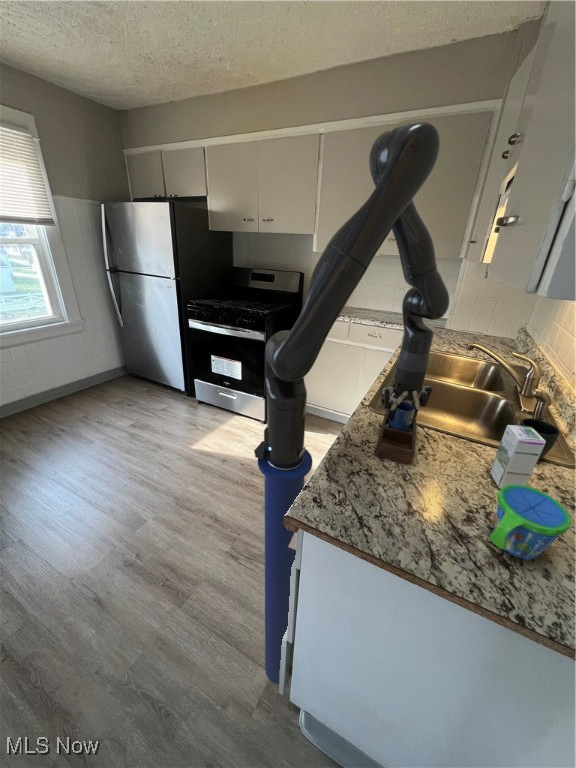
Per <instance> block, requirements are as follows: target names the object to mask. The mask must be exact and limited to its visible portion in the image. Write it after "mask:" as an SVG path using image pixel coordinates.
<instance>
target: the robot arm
mask: <svg viewBox="0 0 576 768" xmlns="http://www.w3.org/2000/svg"><path fill="white" fill-rule="evenodd" d="M440 146H441V139H440V134H439V131H438V129H437V128H436V126H435V125H433V124H432V123H430V122H428V121H427V122H426V121H418V122H417V121H416V122H411V123H407V124H404V125H401V126H396V127H393V128H390V129H387V130H386V131H383V132H382V133H380V134H379V135H378V137H376V139H374V142H373V143H372V146H371V149H370V150H369V151H370V152H369V155H368V157H369V159H368V166H369V172H370V176H371V179H372V181H373V184H374V186H375V188H374V190H373V191H372V193H371V194H370V196H369V197H368V198H367V199H366V201H365V202H364V203H363V205H361V206H360V207H359V209H357V211H356V212H355V213H354V214H352V215H351V216H350V218H348V219H347V220H346V221H345V223H343V224H342V225H341V226H340V227H339V228H338V229H337V231H336V232H335V233H334V234H333V236H332V237H331V238H330V240H329V241H328V242H327V245H326V247H325V248H324V250H323V252H322V254H321V255H320V257H319V259H318V260H317V263H316V264H315V266H314V269H313V270H312V274H311V276H310V281H309V283H308V287H307V292H306V296H305V299H304V303H303V306H302V309H301V311H300V313H299V315H298V317H297V319H296V321H295V323H294V324H293V326H292V327H291V329H290V330H289V329H288V330H286V329H285V330H280V331H277V332H275V333H273V335H272V336H271V337H270V338H269V339H268V341H266V345H265V351H264V375H265V381H264V382H265V388H266V389H265V390H266V400H267V401H266V402H267V403H266V405H267V406H266V407H267V409H266V410H267V411H266V412H267V413H266V414H267V418H266V419H267V420H266V421H267V422H266V427H265V428H264V430H263V440H262V441H261V442H260V443H259V444H258V445H257V447H256V448H255V449H254V451H253V452H254V457H255V458H257V459H258V458H260V459H264V461H265V462H267V463H268V464H269V465H270V466H271V467H272V468H274V469H276V470H280V471H291V470H295V469H297V468H299V467H300V466H301V465H302V463H303V453H304V451H305V449H306V446H305V436H306V435H305V434H306V433H305V432H306V418H307V401H308V400H307V399H308V398H307V397H308V390H307V387H306V382H305V377H306V376H307V375H308V374H309V372H311V370H312V368H313V367H314V365H315V363H316V361H317V358H318V356H319V355H320V353H321V350H322V348H323V346H324V344H325V341H326V340H327V338H328V336H329V333H330V331H331V330H332V328H333V326H334V324H335V323H336V322H337V320H338V318H339V316H340V315H341V313H342V312H343V310H344V308H345V306H346V304H347V303H348V301H349V300H350V298H351V297H352V295H353V293H354V292H355V290H356V289H357V288H358V286H359V284H360V283H361V280H363V278H364V276H365V275H366V273H367V271H368V269H369V267H370V266H371V263H372V262H373V259H374V258H375V256H376V255H377V253H378V251H379V250H380V248H381V247H382V245H383V244H384V243H385V240H386V239H387V237H388V236H389V234H390V233H391V231H392V233H393V237H394V240H395V243H396V247H397V251H398V254H399V255H398V256H399V259H400V264H401V269H402V274H403V278H404V281H405V283H406V284H407V285H408V286H410V288H409V289H408V290H407V291H406V292H405V294H404V296H403V299H402V304H401V305H402V306H401V311H402V313H401V314H402V323H403V337H402V342H401V346H400V347H401V348H400V351H399V353H398V358H397V363H396V368H395V373H394V383H393V384H392V386H386V385H383V386H382V387H381V395H380V396H381V399H380V400H381V401H380V404H381V406H383V408H384V409H385V410H386V412H385V413H386V417H387V419H388V420H389V421H393V417H394V412H395V410H394V409H395V408H396V406H397V405H399V404H400V403H401V401H404V402H406V401H410V404H412V405H413V406H414V407H415V410H414V414H413V419H412V420H415V419H417V417H418V413H419V410H420V408H422V407H423V408H425V407H426V406H427V405H428V403H429V399H430V397H431V395H432V393H433V388H432V387H431V386H430V385H428V384H427V383H425V378H426V374H427V370H428V366H429V361H430V353H431V348H432V343H433V339H434V333H435V332H434V330H433V329H432V328H430V327H429V326H428V325H426V324H425V322H424V319H427V320H430V321H436V320H439V319H441V318H442V317H444V316H445V315H446V313H447V312H448V310H449V306H450V295H449V294H450V293H449V291H448V288H447V287H446V284H445V282H444V280H443V277H442V276H441V273H440V272H439V269H438V266H437V257H436V251H435V246H434V241H433V238H432V235H431V233H430V231H429V229H428V227H427V226H426V224H425V222H424V220H423V218H422V217H421V215H420V213H419V211H418V209H417V207H416V205H415V202H414V200H413V199H414V198H415V197H416V195H417V194H418V193H419V191H420V189H421V188H422V187H423V185H424V184H425V183H426V182H427V180H428V178H429V177H430V175H431V173H432V172H433V170H434V168H435V165H436V164H437V160H438V157H439V154H440ZM424 383H425V384H424ZM419 394H420V395H419Z"/></svg>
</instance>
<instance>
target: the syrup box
mask: <svg viewBox="0 0 576 768" xmlns="http://www.w3.org/2000/svg"><path fill="white" fill-rule="evenodd" d="M505 428H506V430H505V429H504V431H505V433H503V435H502V438H501V440H500V443H499V445H498V449H497V451H496V454H495V456H494V459H493V462H492V464H491V468H490V470H489V475H490V476H491V478H492V479H493V481H494V483H495V485H496V486H497V488H498V489H500V490H501V489H502V488H503V487H504V486H506V485H511V484H517V485H524V486H527V485H528V482H529V480H530V478H531V476H532V474H533V473H534V472H533V471H534V469H535V467H536V465H537V463H538V462H539V461H538V458H539V456H540V454H541V452H542V450H543V447H544V445H545V443H546V441H545V440H544V439H543V438H542V437H541V436H540V435H539V434H538V433H537V432H536V431H535V430H534V429H533V428H532V427H527V426H519V424H517V425H516V424H507V425H506V427H505ZM537 461H538V462H537Z"/></svg>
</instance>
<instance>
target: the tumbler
mask: <svg viewBox="0 0 576 768" xmlns="http://www.w3.org/2000/svg"><path fill="white" fill-rule="evenodd" d="M394 410H395V412H394V417H393V421H389V425H388V428H393V429H397V430H402V431H406V432H410V427H411V423H412V419H413V414H414V410H415V407H414V406H413V405H412V403H411V402H409V401H401V403H400V404H399V405H397V406H396V408H395V409H394Z"/></svg>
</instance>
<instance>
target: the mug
mask: <svg viewBox="0 0 576 768" xmlns="http://www.w3.org/2000/svg"><path fill="white" fill-rule="evenodd" d="M518 426H527V427H532V428H533V429H534V430H535V431H536V432H537V433H538V434H539V435H540V436H541V437H542V438H543V439H544V440H545V441H546V443H545V445H544V447H543V450H542V452H541V454H540V456H539V458H538V461H537V463H539V462H540V461H541V459H543V458H544V457H545V456H546V455H547V454H548V453H549V452H550V451H551V449H552V448H553V447H554V445H555V444H556V442H557V440H558V438H559V436H560V429H559V428H558V427H557V426H556V425H553V424H551V423H549V422H547V421H544V420H541V419H538V418H529V417H527V418H523V419H521V421H520V423H519V424H518ZM505 430H506V427H505V428H504V433H505ZM504 433H503V434H504Z"/></svg>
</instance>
